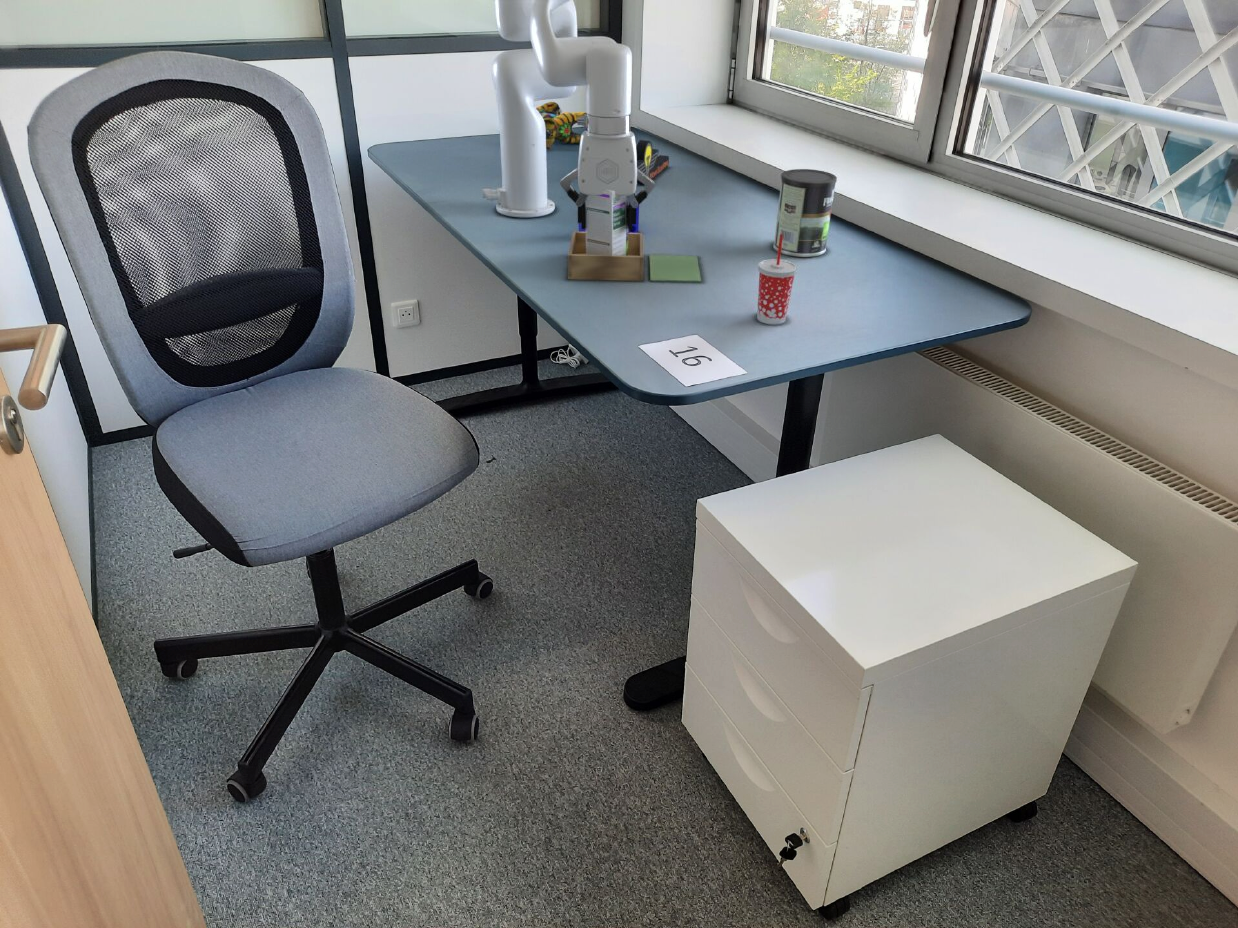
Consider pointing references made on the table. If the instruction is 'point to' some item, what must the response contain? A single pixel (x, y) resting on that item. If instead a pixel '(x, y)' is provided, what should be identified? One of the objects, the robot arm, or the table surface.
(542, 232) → the table surface
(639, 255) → the tray
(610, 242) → the syrup box
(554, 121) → the dog figurine
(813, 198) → the coffee can
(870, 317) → the table surface
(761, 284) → the beverage cup
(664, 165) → the decorative sign
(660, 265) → the mat
